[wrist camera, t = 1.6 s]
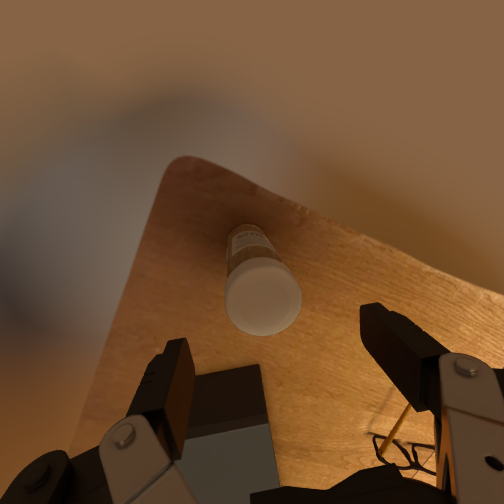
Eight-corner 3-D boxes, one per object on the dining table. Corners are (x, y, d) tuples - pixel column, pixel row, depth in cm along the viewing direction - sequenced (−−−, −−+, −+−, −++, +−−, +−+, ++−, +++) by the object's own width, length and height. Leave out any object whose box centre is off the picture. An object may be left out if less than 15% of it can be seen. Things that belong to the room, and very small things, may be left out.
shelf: (181, 378, 31) (157, 481, 21) (259, 363, 32) (274, 456, 21) (220, 508, 39) (217, 629, 29) (282, 494, 40) (301, 609, 29)
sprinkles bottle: (221, 257, 27) (215, 331, 14) (232, 217, 26) (236, 258, 13) (261, 267, 28) (289, 346, 15) (273, 229, 27) (315, 278, 14)
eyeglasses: (361, 437, 37) (376, 467, 33) (409, 360, 34) (432, 384, 30) (436, 452, 40) (458, 481, 36) (488, 382, 36) (519, 407, 33)
